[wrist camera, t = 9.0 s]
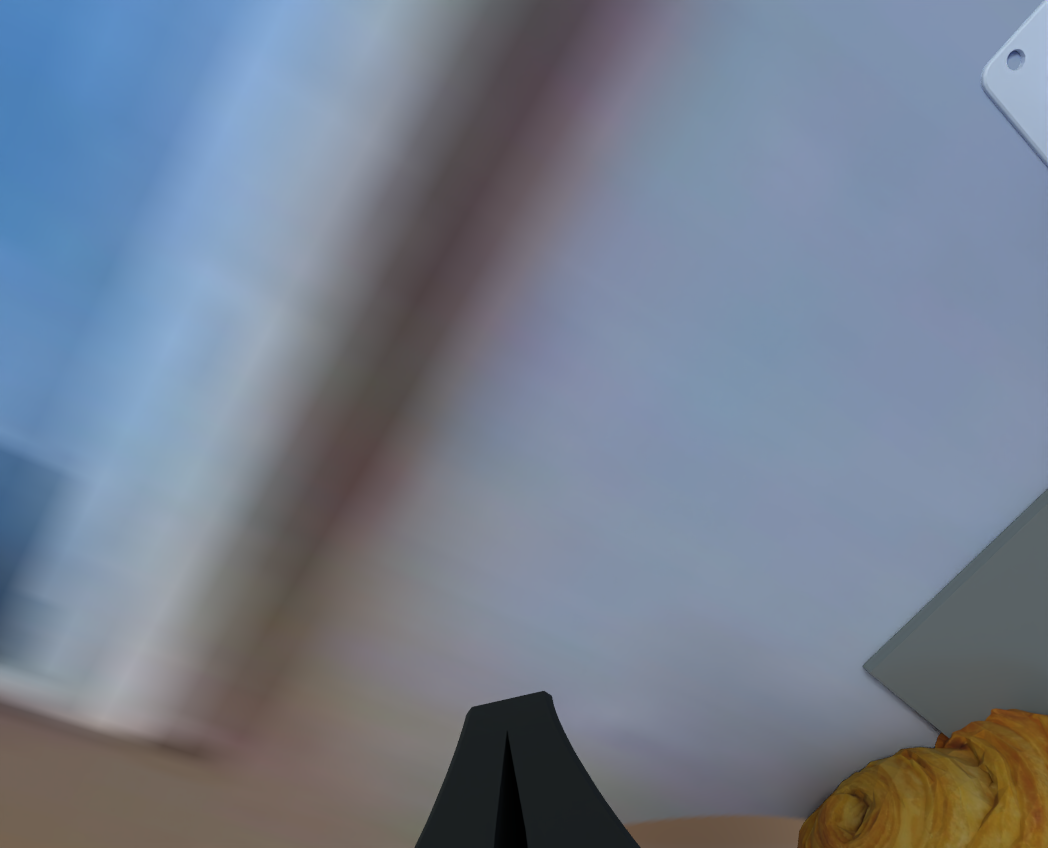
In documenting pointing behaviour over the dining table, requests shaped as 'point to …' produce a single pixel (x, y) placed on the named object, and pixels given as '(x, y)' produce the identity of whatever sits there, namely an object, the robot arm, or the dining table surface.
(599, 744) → the dining table surface
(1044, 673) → the slate board
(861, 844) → the croissant
